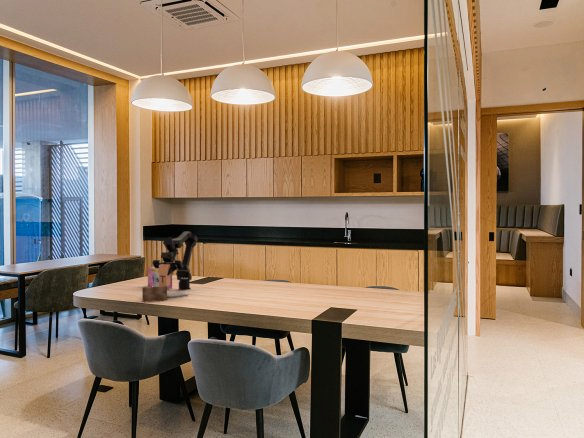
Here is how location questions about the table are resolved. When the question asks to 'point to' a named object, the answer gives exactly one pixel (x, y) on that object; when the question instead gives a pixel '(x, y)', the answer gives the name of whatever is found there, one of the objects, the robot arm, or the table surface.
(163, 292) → the walnut screen
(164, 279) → the letter block
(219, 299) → the table surface
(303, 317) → the table surface
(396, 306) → the table surface
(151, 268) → the gum box
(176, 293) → the grey mat
